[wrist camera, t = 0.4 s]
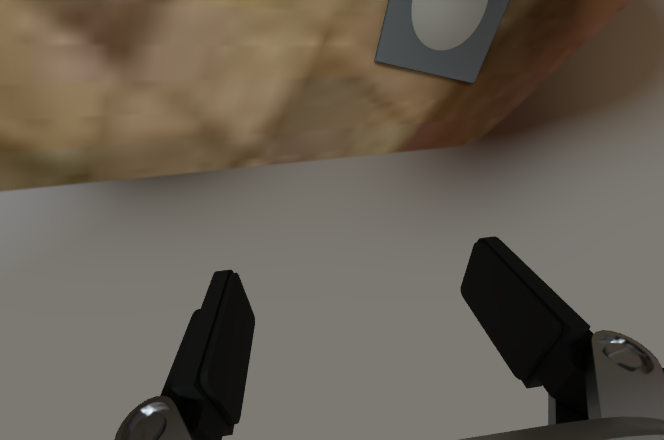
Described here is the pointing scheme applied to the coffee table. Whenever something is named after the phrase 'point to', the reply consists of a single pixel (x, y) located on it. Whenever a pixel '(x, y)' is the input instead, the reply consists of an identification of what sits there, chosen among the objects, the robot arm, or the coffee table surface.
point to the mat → (439, 35)
